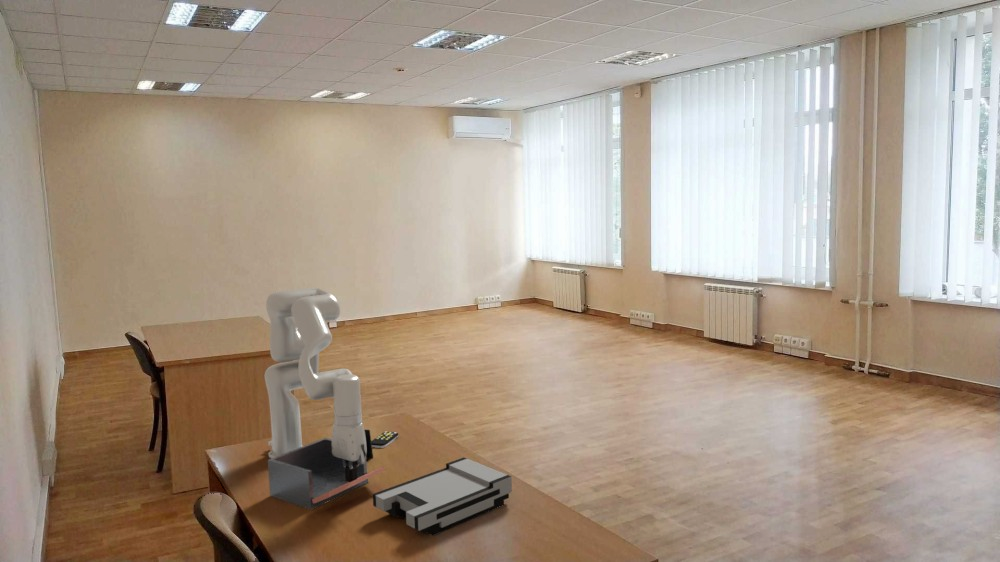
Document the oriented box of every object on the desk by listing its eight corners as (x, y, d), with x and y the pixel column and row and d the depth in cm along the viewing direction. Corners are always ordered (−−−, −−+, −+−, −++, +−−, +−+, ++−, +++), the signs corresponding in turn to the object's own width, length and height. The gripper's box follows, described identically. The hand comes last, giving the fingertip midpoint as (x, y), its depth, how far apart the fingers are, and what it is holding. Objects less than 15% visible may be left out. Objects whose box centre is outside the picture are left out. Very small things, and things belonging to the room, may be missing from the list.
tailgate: (311, 499, 200) (328, 492, 195) (367, 473, 217) (384, 466, 213) (313, 503, 200) (330, 496, 195) (369, 477, 217) (385, 470, 213)
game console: (374, 518, 195) (372, 489, 193) (464, 483, 216) (463, 457, 215) (419, 544, 179) (417, 513, 178) (512, 504, 201) (511, 476, 199)
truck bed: (270, 496, 210) (267, 460, 209) (327, 470, 228) (325, 437, 227) (311, 510, 200) (309, 472, 199) (368, 482, 218) (366, 447, 217)
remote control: (367, 448, 249) (367, 442, 248) (384, 435, 261) (384, 430, 260) (383, 449, 247) (383, 444, 246) (400, 437, 259) (399, 431, 258)
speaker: (360, 454, 241) (358, 425, 239) (373, 458, 238) (370, 429, 236) (344, 463, 235) (341, 434, 233) (357, 467, 232) (354, 438, 229)
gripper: (320, 417, 204) (323, 479, 207) (357, 427, 196) (360, 491, 198) (340, 410, 210) (343, 470, 213) (376, 419, 202) (379, 481, 204)
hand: (351, 480), depth 205 cm, fingers closed
